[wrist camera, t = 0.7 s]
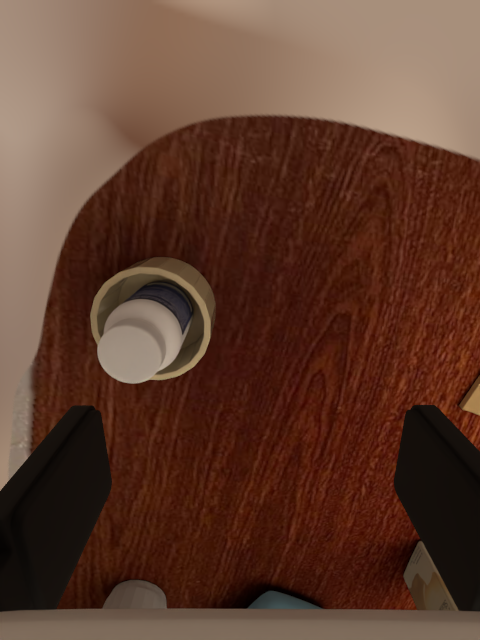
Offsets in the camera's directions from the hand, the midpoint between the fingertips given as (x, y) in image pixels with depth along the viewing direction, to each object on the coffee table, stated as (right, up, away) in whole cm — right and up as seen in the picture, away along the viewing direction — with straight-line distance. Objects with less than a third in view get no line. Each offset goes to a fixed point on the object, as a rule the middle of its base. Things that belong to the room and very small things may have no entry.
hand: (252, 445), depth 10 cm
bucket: (-7, +5, +20) cm, 22 cm away
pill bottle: (-7, +5, +20) cm, 22 cm away
